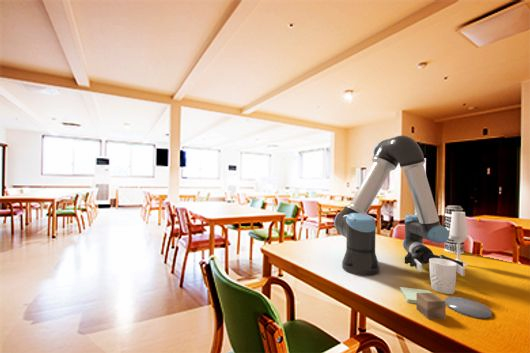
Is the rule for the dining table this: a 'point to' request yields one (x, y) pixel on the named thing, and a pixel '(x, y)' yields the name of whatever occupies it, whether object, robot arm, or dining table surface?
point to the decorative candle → (450, 243)
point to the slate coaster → (468, 307)
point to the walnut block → (431, 306)
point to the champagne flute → (458, 230)
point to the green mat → (412, 293)
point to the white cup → (442, 275)
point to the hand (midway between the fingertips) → (441, 270)
